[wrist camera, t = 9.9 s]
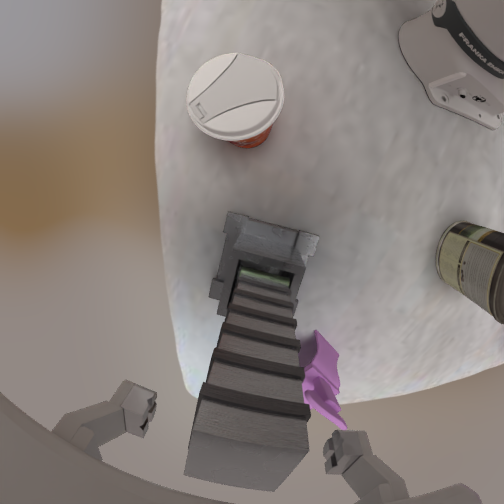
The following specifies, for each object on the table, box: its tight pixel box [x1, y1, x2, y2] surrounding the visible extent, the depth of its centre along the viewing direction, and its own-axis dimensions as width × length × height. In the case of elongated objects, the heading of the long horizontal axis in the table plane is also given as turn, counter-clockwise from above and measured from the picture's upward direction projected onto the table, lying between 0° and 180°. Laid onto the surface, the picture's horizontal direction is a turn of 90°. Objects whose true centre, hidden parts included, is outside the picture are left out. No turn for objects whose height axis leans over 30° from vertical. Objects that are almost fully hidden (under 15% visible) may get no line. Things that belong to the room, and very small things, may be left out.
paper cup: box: [186, 53, 284, 148], centre depth 24 cm, size 8×8×14 cm
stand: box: [209, 212, 319, 317], centre depth 30 cm, size 11×11×10 cm
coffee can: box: [436, 221, 504, 324], centre depth 26 cm, size 10×10×14 cm
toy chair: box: [302, 330, 347, 430], centre depth 31 cm, size 8×9×15 cm
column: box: [184, 266, 311, 492], centre depth 16 cm, size 4×4×18 cm
